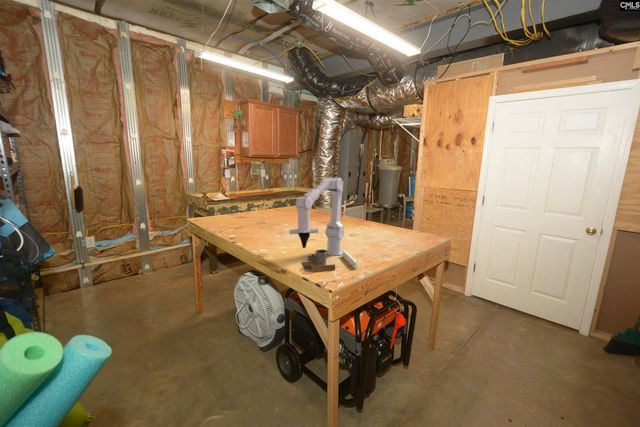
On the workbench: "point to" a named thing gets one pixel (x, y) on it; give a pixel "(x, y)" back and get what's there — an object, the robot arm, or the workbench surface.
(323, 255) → the pipe
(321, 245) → the workbench surface
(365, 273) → the workbench surface
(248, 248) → the workbench surface
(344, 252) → the cream plank
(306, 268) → the strip
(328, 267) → the brown wooden board
